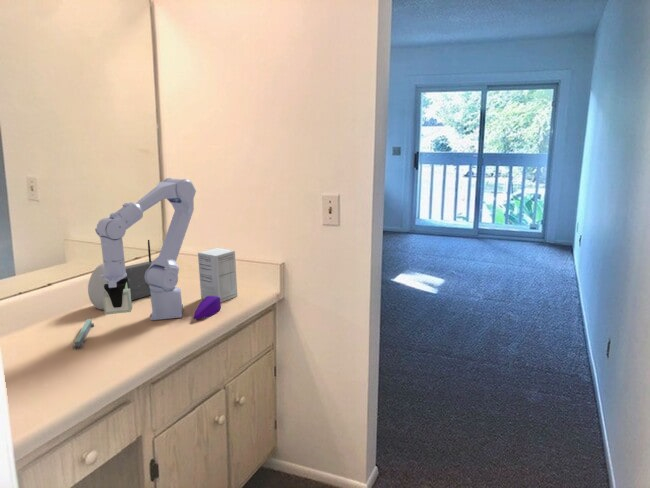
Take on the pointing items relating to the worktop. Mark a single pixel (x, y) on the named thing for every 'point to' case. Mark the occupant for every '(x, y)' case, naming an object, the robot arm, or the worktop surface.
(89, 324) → the rail
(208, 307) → the crystal
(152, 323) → the worktop surface
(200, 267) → the supplement box
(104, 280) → the decorative egg
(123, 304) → the soap box
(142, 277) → the electronic device
